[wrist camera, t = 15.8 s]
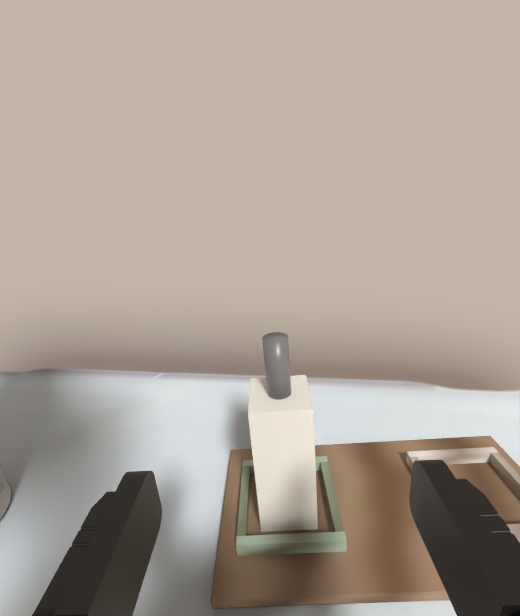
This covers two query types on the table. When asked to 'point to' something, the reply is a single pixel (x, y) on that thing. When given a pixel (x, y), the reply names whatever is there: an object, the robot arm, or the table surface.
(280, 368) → the cream block with handle
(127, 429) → the table surface
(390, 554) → the walnut port board
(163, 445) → the table surface
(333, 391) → the table surface
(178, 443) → the table surface
